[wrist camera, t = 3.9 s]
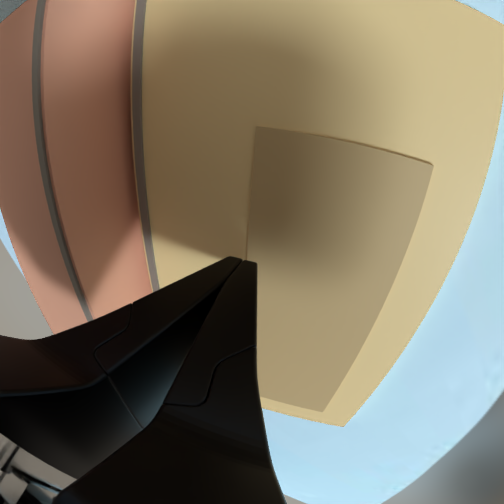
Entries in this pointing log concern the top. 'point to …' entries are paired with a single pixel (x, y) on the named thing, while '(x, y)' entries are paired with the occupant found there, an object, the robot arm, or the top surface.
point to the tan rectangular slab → (315, 169)
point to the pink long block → (71, 157)
